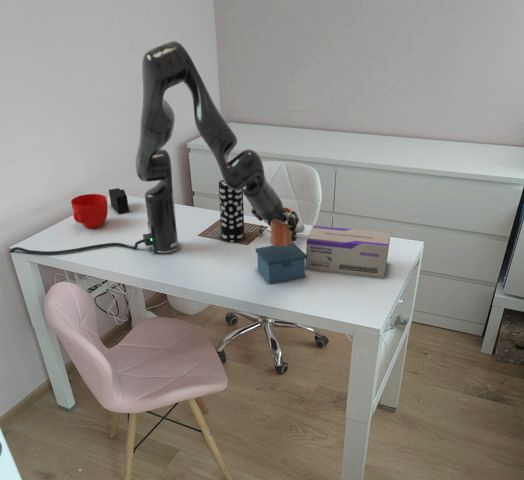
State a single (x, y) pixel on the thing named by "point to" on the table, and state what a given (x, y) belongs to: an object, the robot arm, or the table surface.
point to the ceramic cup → (90, 210)
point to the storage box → (281, 262)
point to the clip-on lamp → (299, 229)
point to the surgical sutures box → (347, 251)
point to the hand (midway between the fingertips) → (283, 226)
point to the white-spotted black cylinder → (231, 213)
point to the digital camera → (119, 200)
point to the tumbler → (280, 232)
